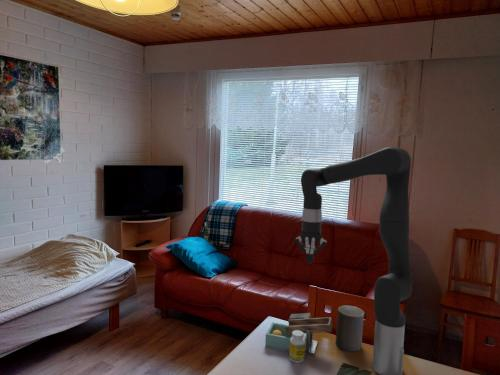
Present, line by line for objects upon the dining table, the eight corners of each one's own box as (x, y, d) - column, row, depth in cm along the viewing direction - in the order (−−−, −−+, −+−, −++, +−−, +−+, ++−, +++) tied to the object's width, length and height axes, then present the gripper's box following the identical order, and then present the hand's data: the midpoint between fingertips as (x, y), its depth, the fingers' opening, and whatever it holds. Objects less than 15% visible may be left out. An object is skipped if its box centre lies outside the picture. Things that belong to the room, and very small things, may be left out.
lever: (334, 314, 144) (333, 307, 144) (331, 332, 130) (329, 324, 130) (291, 317, 150) (290, 310, 150) (283, 334, 136) (282, 327, 135)
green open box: (296, 338, 143) (297, 326, 142) (291, 352, 133) (292, 339, 133) (271, 334, 146) (272, 322, 145) (265, 346, 136) (265, 334, 136)
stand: (317, 343, 140) (318, 321, 139) (313, 355, 131) (315, 332, 130) (304, 341, 141) (305, 318, 140) (300, 353, 133) (301, 329, 132)
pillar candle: (332, 346, 138) (335, 308, 136) (339, 335, 146) (342, 299, 145) (358, 354, 133) (361, 315, 132) (364, 342, 142) (367, 305, 140)
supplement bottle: (297, 353, 133) (298, 327, 132) (307, 360, 129) (309, 334, 128) (286, 357, 130) (287, 331, 129) (295, 364, 126) (297, 338, 125)
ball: (278, 326, 141) (271, 331, 143) (276, 330, 138) (268, 336, 139) (285, 334, 141) (277, 339, 142) (282, 339, 137) (275, 345, 138)
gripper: (329, 219, 145) (327, 261, 147) (296, 216, 149) (294, 257, 151) (327, 222, 138) (325, 267, 140) (293, 219, 142) (291, 263, 144)
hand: (309, 262), depth 146 cm, fingers closed
